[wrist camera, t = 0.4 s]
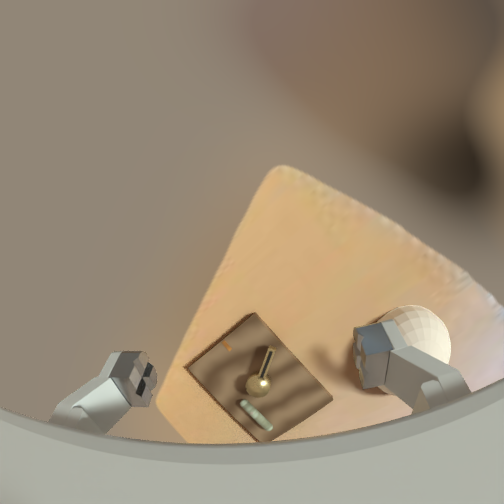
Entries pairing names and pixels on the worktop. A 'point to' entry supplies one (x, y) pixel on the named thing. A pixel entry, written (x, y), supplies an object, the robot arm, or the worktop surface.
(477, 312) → the worktop surface
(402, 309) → the kettle
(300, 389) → the levelling base
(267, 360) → the brass knob
